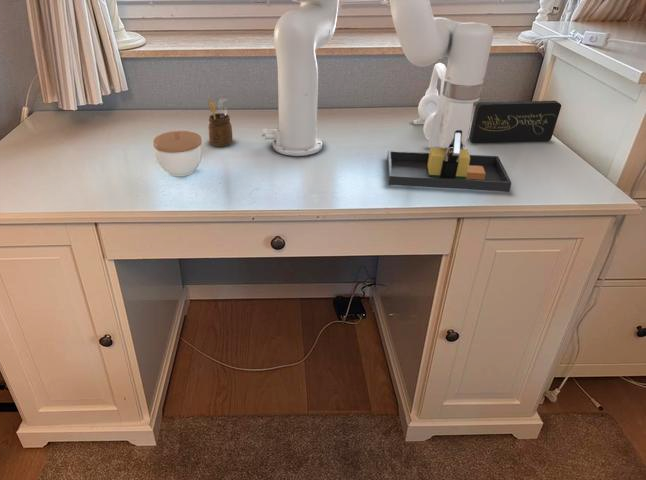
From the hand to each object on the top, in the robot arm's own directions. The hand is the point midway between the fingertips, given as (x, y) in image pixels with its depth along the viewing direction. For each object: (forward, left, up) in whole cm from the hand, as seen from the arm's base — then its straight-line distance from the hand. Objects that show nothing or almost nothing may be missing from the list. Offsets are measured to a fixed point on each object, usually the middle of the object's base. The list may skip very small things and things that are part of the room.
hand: (446, 171), depth 115 cm
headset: (-1, +25, -1) cm, 25 cm away
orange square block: (+6, 0, -1) cm, 6 cm away
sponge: (0, 0, 0) cm, 0 cm away
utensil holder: (-55, +13, -1) cm, 57 cm away
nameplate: (+19, +24, -1) cm, 30 cm away
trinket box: (-60, -5, -1) cm, 61 cm away
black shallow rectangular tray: (0, 0, -1) cm, 1 cm away
